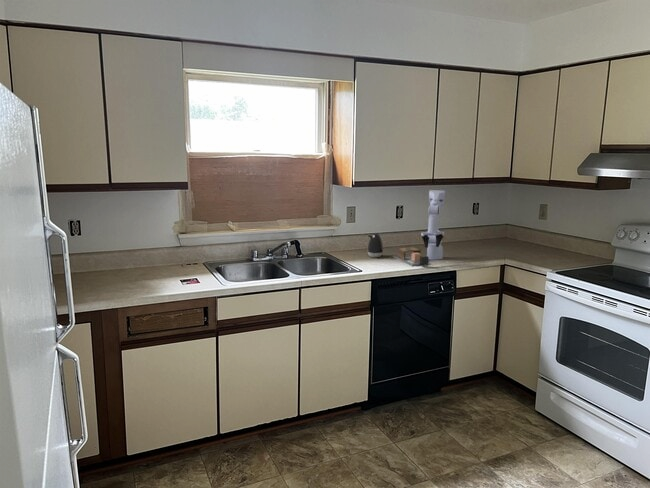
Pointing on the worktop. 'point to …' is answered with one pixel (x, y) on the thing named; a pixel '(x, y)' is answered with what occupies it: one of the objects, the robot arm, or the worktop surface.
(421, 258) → the sled
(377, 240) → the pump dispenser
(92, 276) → the worktop surface
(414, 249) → the tunnel
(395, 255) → the track
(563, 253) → the worktop surface
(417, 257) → the block
